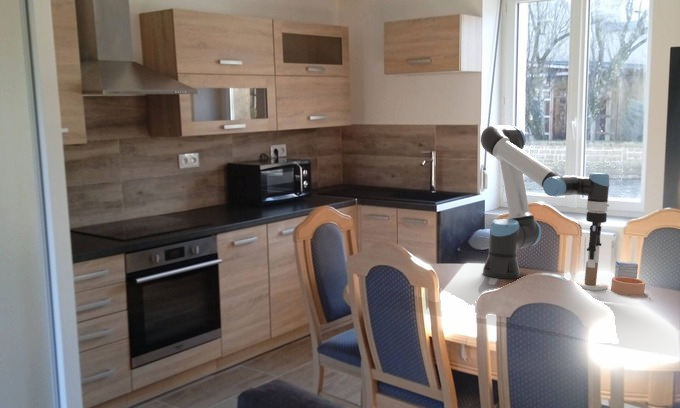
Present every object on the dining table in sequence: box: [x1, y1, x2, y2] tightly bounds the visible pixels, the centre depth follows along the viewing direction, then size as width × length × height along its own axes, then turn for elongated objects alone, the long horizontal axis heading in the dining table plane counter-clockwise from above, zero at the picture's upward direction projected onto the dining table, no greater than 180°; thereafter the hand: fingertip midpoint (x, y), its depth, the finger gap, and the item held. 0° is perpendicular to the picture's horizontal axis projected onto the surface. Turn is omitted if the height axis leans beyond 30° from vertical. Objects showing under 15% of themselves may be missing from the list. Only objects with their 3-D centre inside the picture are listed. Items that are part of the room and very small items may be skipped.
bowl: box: [610, 276, 646, 296], centre depth 272 cm, size 12×12×5 cm
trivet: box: [585, 284, 610, 293], centre depth 279 cm, size 13×13×1 cm
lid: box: [575, 260, 608, 291], centre depth 278 cm, size 13×13×10 cm
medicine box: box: [614, 260, 639, 279], centre depth 290 cm, size 8×4×9 cm, turn 84°
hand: (592, 264), depth 277 cm, fingers open, 13 cm apart
